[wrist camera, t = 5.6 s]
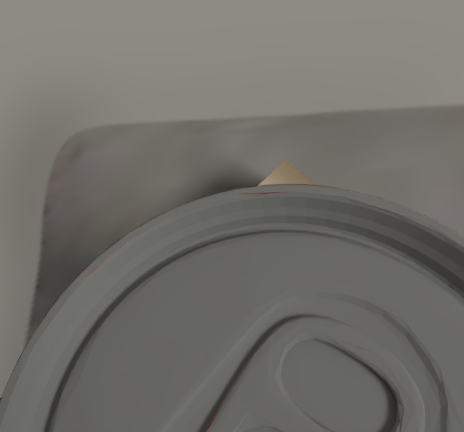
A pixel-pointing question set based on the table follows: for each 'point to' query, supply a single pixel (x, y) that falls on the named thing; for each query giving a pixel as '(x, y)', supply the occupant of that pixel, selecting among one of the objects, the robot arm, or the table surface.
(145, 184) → the table surface
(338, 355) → the beverage can
